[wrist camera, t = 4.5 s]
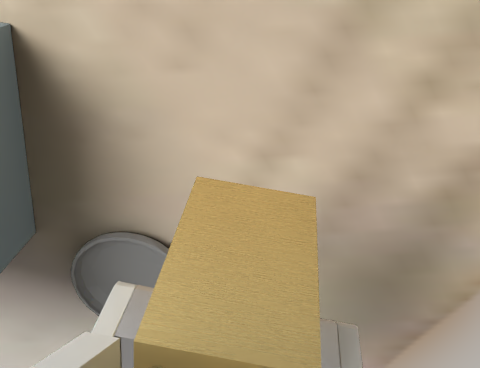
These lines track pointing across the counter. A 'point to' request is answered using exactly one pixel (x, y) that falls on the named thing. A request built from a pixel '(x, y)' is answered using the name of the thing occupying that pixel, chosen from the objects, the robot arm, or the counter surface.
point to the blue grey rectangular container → (12, 160)
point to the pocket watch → (115, 265)
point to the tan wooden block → (236, 284)
